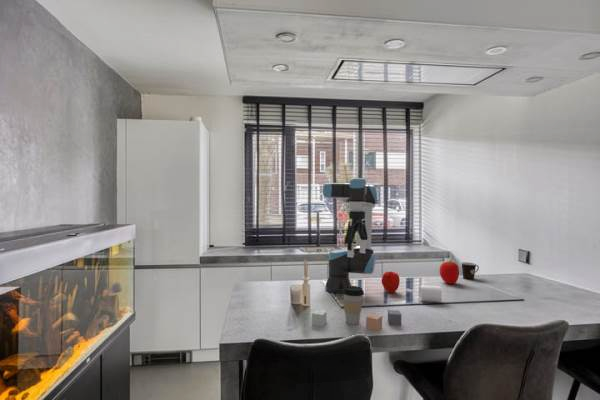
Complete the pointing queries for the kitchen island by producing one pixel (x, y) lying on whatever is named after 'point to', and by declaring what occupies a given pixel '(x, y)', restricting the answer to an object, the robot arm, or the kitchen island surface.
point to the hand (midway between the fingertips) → (356, 255)
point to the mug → (430, 294)
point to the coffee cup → (352, 304)
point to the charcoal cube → (394, 317)
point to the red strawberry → (449, 272)
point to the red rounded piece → (390, 281)
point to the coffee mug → (469, 270)
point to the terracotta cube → (374, 322)
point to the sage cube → (319, 317)
